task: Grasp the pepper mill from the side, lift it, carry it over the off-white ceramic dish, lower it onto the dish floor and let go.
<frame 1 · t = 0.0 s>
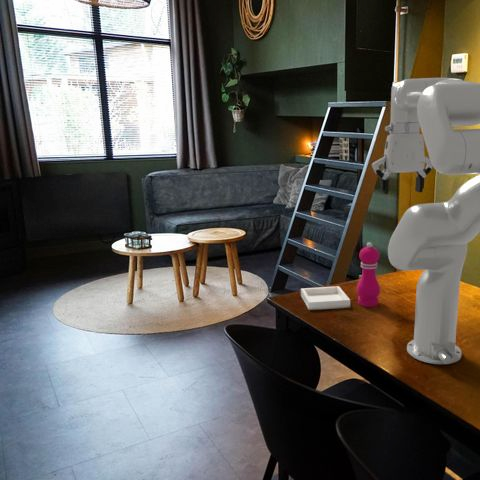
hand: (401, 192, 136), 37 cm above the table, tool pointing down, fingers open, 9 cm apart
pepper mill: (367, 303, 155), on the table
ceramic dish: (324, 301, 158), on the table
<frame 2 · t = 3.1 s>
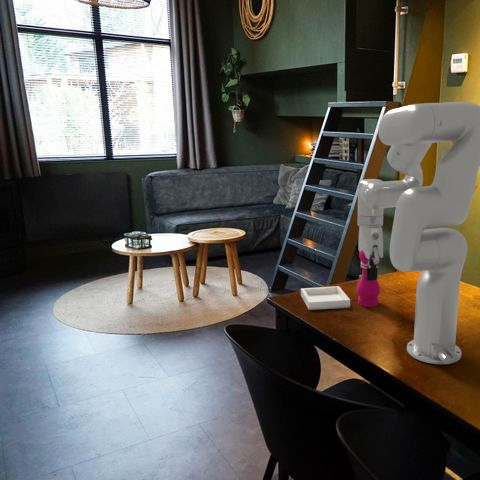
hand: (368, 276, 153), 9 cm above the table, tool pointing down, fingers closed on pepper mill, 5 cm apart
pepper mill: (367, 303, 155), on the table, touching gripper
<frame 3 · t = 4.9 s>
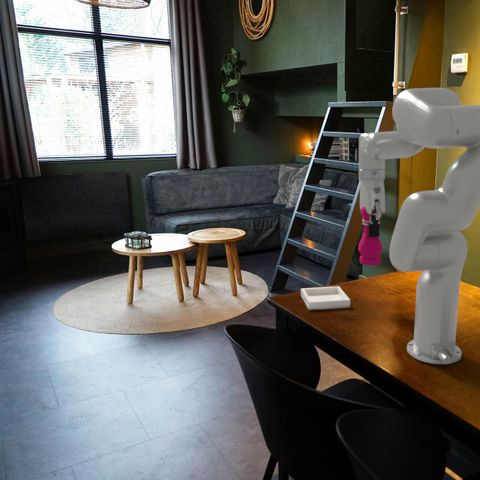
hand: (370, 234, 149), 23 cm above the table, tool pointing down, fingers closed on pepper mill, 5 cm apart
pepper mill: (370, 263, 151), point 13 cm above the table, touching gripper
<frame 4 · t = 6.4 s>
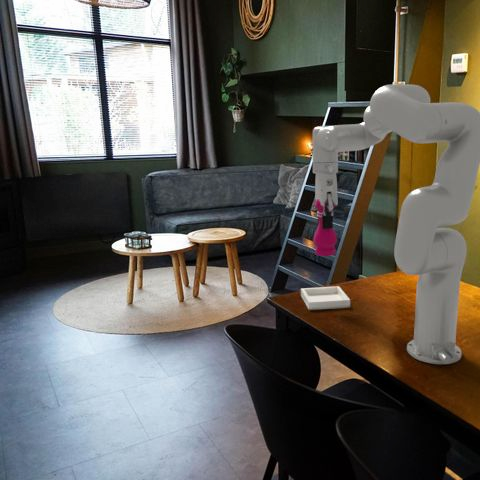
hand: (325, 225, 152), 25 cm above the table, tool pointing down, fingers closed on pepper mill, 5 cm apart
pepper mill: (325, 254, 154), point 16 cm above the table, touching gripper
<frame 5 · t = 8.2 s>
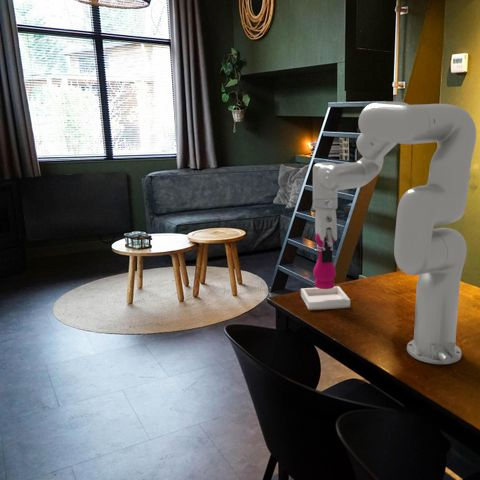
hand: (324, 259, 155), 14 cm above the table, tool pointing down, fingers closed on pepper mill, 5 cm apart
pepper mill: (324, 286, 157), point 5 cm above the table, touching gripper
when the fingers open (11 cm above the table, at t = 9.7 s): pepper mill drops 1 cm, resting on ceramic dish.
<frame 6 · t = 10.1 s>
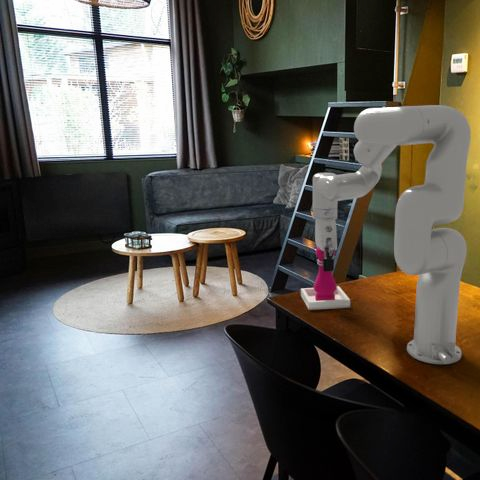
hand: (324, 266, 156), 12 cm above the table, tool pointing down, fingers open, 8 cm apart
pepper mill: (325, 300, 158), resting on ceramic dish
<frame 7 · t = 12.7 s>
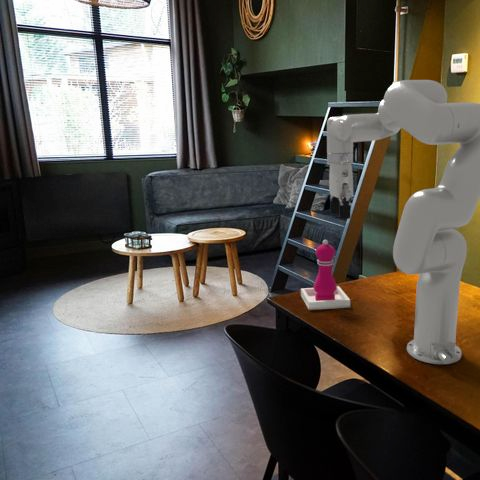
hand: (339, 215, 149), 29 cm above the table, tool pointing down, fingers open, 9 cm apart
nothing on the table moved.
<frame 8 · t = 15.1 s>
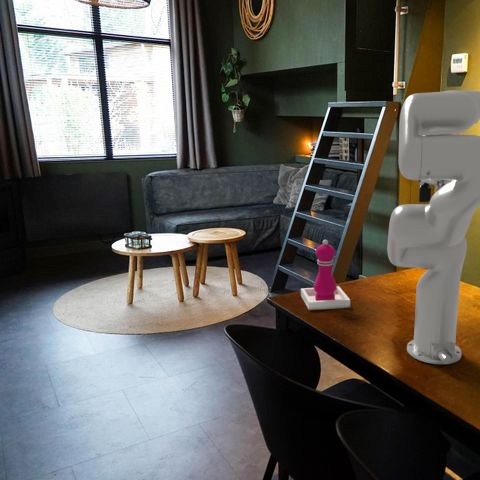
hand: (432, 204, 136), 33 cm above the table, tool pointing down, fingers open, 9 cm apart
nothing on the table moved.
at the end: pepper mill 0.3 cm off-centre on the ceramic dish, point 0.4 cm above the ceramic dish's base; pepper mill tilted 0°; the gripper is holding nothing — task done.
